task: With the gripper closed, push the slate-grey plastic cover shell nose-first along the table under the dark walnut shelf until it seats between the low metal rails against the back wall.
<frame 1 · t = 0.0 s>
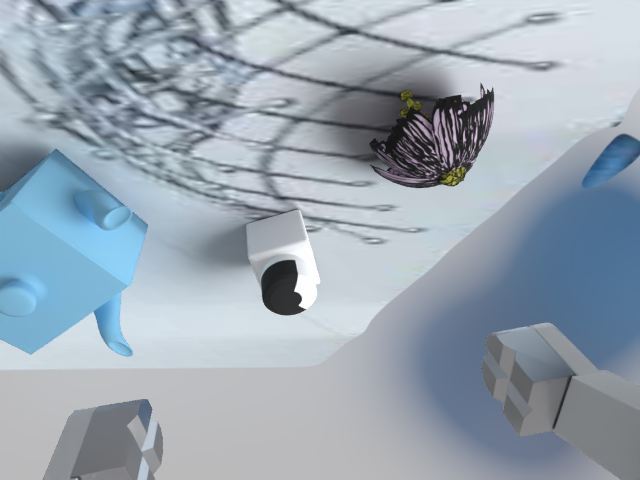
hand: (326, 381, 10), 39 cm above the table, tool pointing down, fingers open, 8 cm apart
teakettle: (72, 210, 47), on the table
decorative flower: (417, 124, 49), on the table
medicine bottle: (279, 236, 55), on the table
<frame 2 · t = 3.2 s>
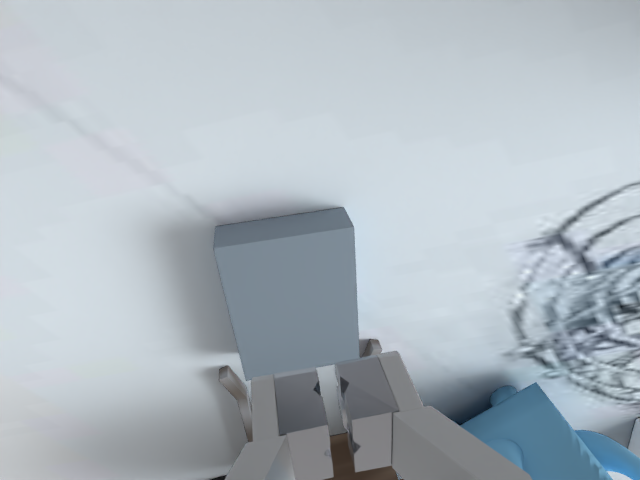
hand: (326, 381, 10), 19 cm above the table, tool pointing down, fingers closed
cover shell: (290, 285, 32), on the table
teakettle: (492, 421, 46), on the table
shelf: (307, 405, 39), on the table
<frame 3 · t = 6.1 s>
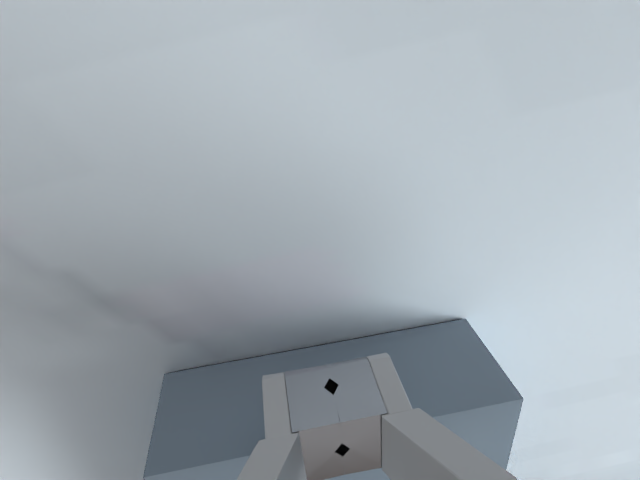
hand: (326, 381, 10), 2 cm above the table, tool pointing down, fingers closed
cover shell: (334, 465, 15), on the table
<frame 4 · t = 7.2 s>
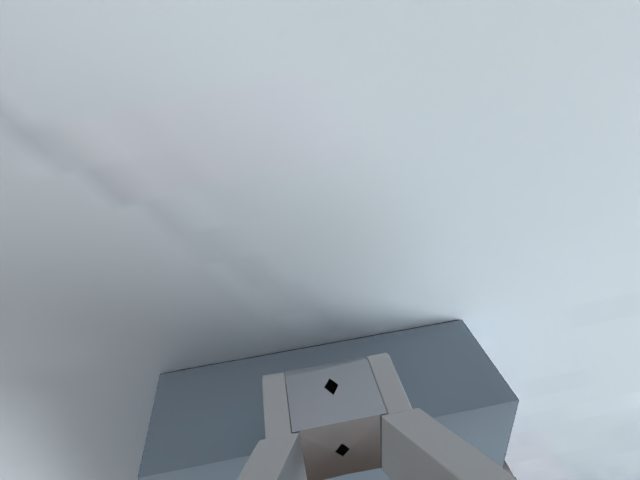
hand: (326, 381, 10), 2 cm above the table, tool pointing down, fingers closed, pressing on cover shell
cover shell: (330, 465, 15), on the table, touching gripper
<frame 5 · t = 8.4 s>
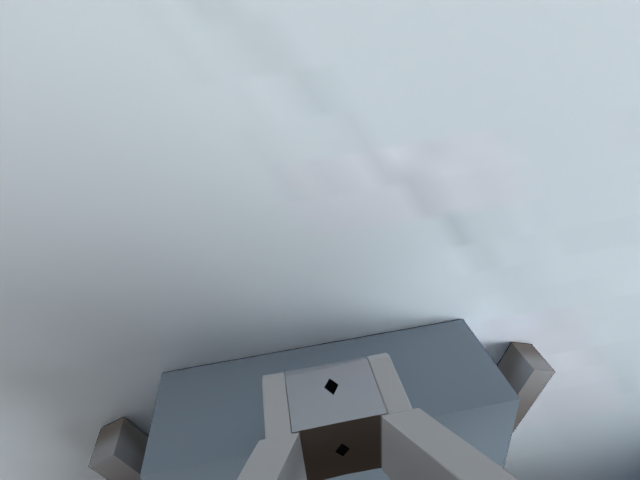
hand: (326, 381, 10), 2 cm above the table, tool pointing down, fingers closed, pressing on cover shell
cover shell: (331, 465, 15), on the table, touching gripper
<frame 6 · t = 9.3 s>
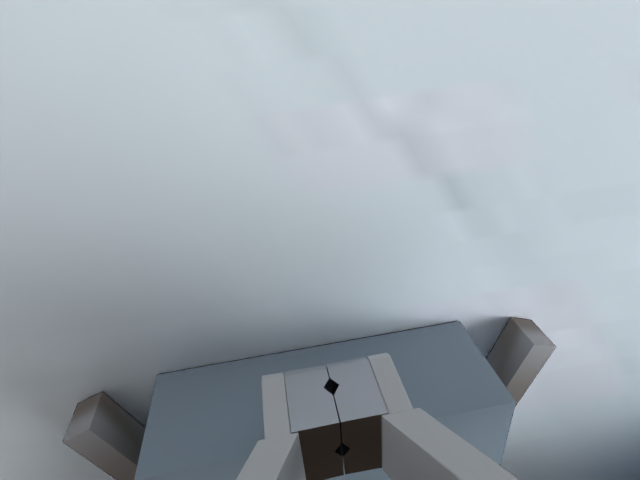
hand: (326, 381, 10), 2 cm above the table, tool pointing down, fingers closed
cover shell: (327, 466, 15), on the table
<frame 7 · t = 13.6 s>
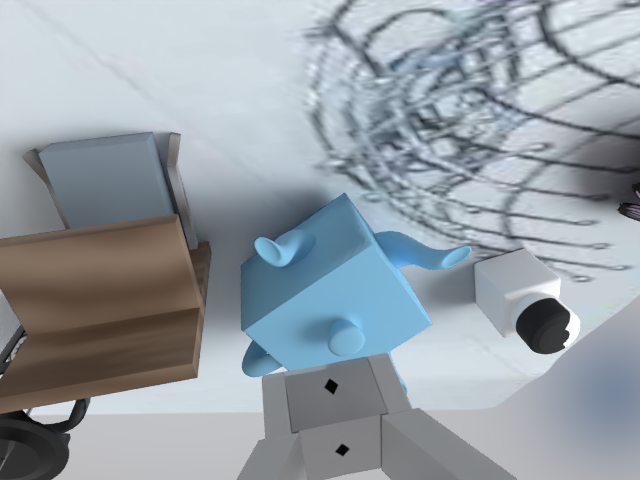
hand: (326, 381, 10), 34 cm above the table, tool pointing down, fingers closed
cover shell: (123, 196, 41), on the table
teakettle: (326, 250, 49), on the table
french press: (73, 319, 48), on the table
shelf: (127, 207, 42), on the table
medicine bottle: (498, 275, 55), on the table
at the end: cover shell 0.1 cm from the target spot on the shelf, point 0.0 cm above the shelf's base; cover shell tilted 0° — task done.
